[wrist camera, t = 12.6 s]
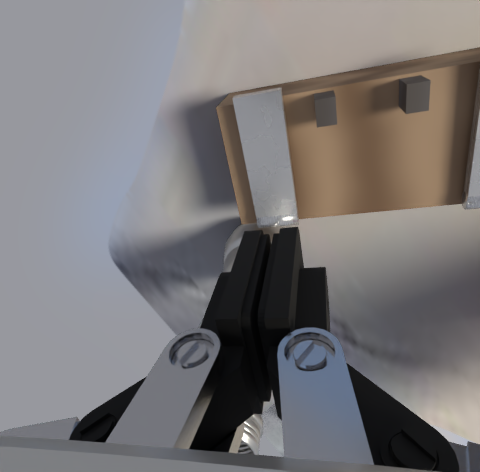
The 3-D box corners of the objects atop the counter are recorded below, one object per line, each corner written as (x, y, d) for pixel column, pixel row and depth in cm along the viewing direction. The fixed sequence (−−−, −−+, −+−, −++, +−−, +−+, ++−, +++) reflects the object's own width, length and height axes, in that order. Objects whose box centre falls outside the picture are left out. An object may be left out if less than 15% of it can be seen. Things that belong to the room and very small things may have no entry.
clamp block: (524, 39, 24) (595, 48, 18) (502, 169, 28) (553, 210, 22) (229, 93, 28) (209, 114, 23) (250, 197, 33) (237, 237, 27)
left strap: (299, 219, 27) (298, 227, 26) (260, 222, 28) (258, 231, 27) (281, 86, 23) (280, 90, 22) (235, 95, 23) (231, 99, 22)
